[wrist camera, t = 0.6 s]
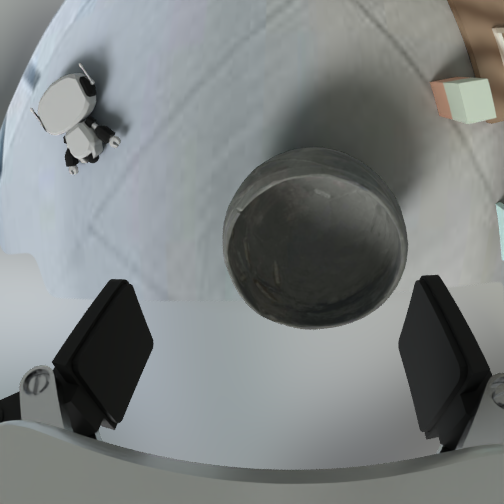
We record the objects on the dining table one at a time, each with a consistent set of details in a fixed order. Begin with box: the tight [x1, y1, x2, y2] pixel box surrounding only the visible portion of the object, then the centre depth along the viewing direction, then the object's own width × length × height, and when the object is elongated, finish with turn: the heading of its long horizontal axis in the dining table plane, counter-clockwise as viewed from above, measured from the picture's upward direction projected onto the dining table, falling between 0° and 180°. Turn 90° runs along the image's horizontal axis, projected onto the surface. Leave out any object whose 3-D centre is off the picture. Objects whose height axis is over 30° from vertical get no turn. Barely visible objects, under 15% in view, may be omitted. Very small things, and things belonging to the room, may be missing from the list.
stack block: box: [430, 77, 497, 124], centre depth 28 cm, size 5×5×8 cm
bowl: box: [223, 147, 408, 329], centre depth 37 cm, size 21×21×15 cm
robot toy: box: [30, 63, 121, 175], centre depth 37 cm, size 12×4×15 cm
